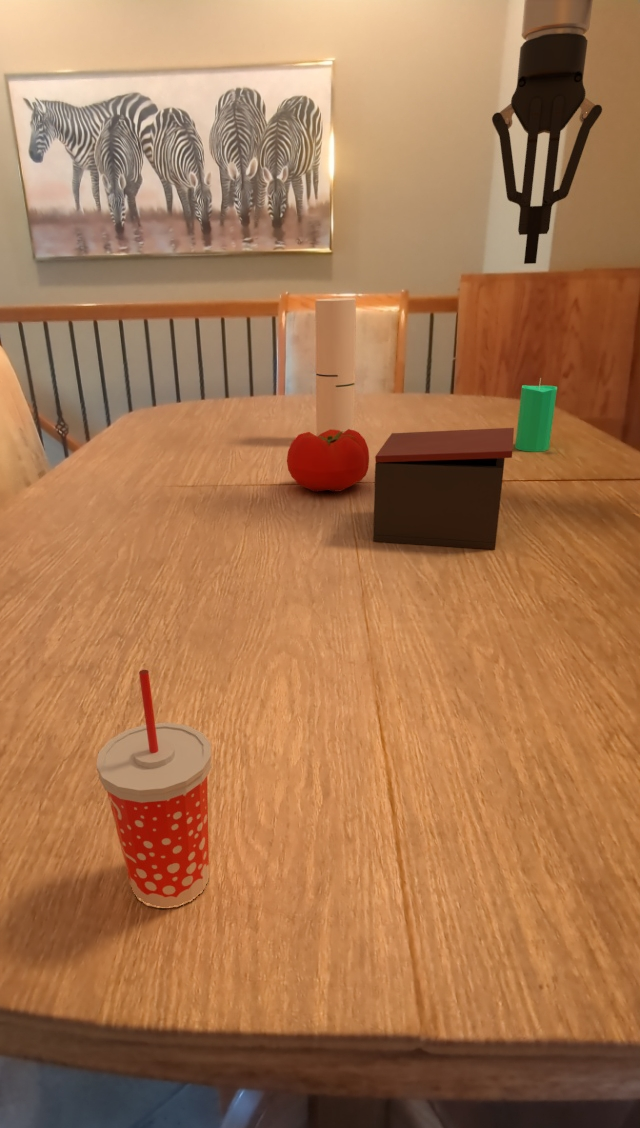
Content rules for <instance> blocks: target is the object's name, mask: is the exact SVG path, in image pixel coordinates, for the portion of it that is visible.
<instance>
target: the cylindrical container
mask: <svg viewBox="0 0 640 1128" xmlns="http://www.w3.org/2000/svg"><path fill="white" fill-rule="evenodd" d="M314 301H315V303H314V304H315V305H314V308H315V309H314V310H315V391H316V392H315V405H316V406H315V410H316V411H315V413H316V416H315V417H316V422H315V423H316V425H315V426H316V436H319V435H320V434H321V433H323V432H326V431H328V430H330V429H332V430H340V431H341V432H342V431H343V432H342V433H344V432H345V431H346V430H348V429H350V430H354V431H355V406H356V405H355V404H356V403H355V402H356V401H355V398H356V397H355V393H356V389H355V388H356V326H357V325H356V320H357V319H356V318H357V317H356V316H357V315H356V314H357V299H356V298H354V297H337V298H335V297H332V298H319V299H314Z"/></svg>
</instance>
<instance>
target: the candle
mask: <svg viewBox="0 0 640 1128" xmlns="http://www.w3.org/2000/svg"><path fill="white" fill-rule="evenodd" d="M541 381H542V377H540V378H539V384H538V385H526V384H525V385H524V384H523V385H521V391H520V399H519V400H520V401H519V410H518V418H517V427H516V428H517V429H516V436H515V444H514V449H517V450H518V451H523V452H532V453H533V452H535V453H537V452H538V453H539V452H546V451H549V450H550V446H551V445H550V444H551V438H552V430H553V421H554V416H555V415H554V414H555V407H556V400H557V392H558V386H554V385H541Z"/></svg>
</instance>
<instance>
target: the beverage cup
mask: <svg viewBox="0 0 640 1128" xmlns="http://www.w3.org/2000/svg"><path fill="white" fill-rule="evenodd" d="M138 674H139V682H140V690H141V696H142V697H141V699H142V706H143V713H144V714H143V715H144V719H145V724H141V725H138V726H136V727H131V728H128V729H125V730H124V731H121V732H120V733H118V734H117V735H115V736H113V737H112V738H110V739H108V741H107V742H106V743H105V744H104V746H102V748H101V749H100V750H99V751H98V754H97V759H96V764H95V767H96V771H97V773H98V779H99V781H100V783H101V785H102V787H103V789H104V790H105V791H106V794H107V798H108V801H109V805H110V809H111V813H112V817H113V821H114V825H115V829H116V834H117V838H118V841H119V845H120V849H121V853H122V858H123V860H124V865H125V869H126V873H127V877H128V881H129V885H131V886H130V888H131V887H132V889H133V891H134V893H135V895H137V897H139V898H141V899H143V901H144V902H146V903H150V904H152V905H156V906H161V907H169V906H174V905H179V904H182V903H183V902H185V901H188V900H191V899H192V898H193V897H195V896H196V895H197V894H198V893H200V891H202V890H203V888H204V886H205V884H206V882H207V880H208V878H209V879H210V856H209V853H210V851H209V802H208V801H209V800H208V799H209V797H208V796H209V794H208V793H209V792H208V774H209V773H210V771H211V770H212V744H211V741H210V740H209V739H208V738H207V737H206V735H205V734H204V733H203V732H202V731H200V730H198V729H196V728H194V727H192V726H190V725H187V724H182V723H176V722H175V723H174V722H168V721H167V722H156V719H155V712H154V705H153V696H152V688H151V680H150V673H149V670H148V669H141V670H139V673H138ZM132 889H131V890H132ZM133 891H132V892H133ZM134 893H133V894H134ZM135 895H134V896H135Z"/></svg>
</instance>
